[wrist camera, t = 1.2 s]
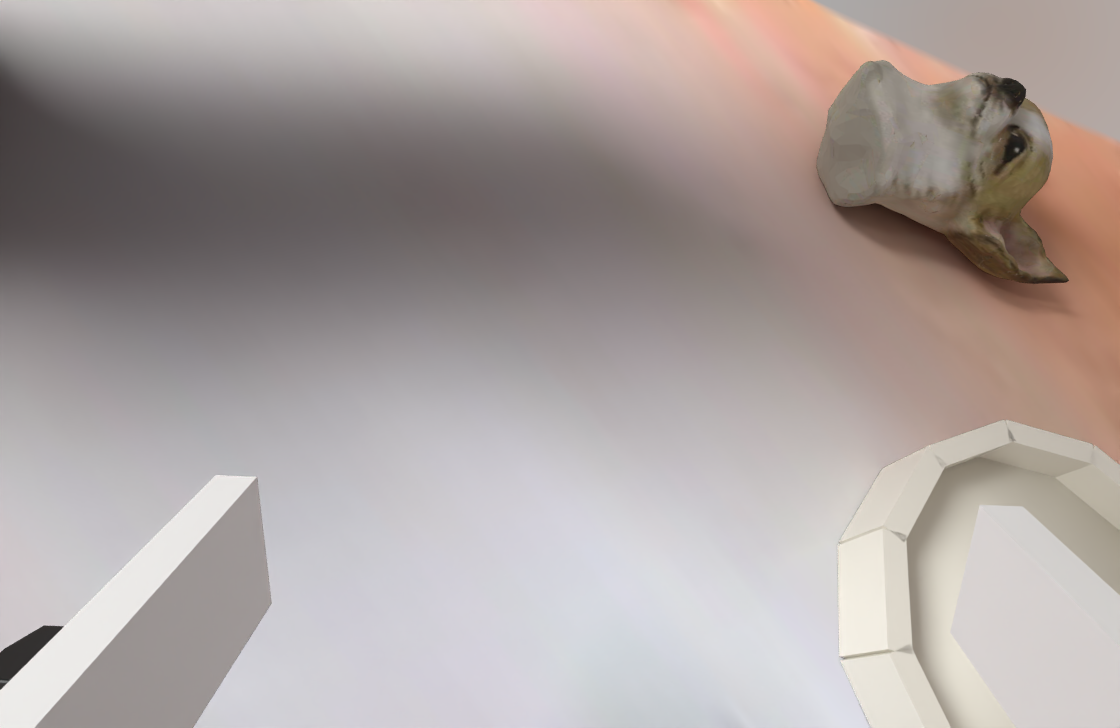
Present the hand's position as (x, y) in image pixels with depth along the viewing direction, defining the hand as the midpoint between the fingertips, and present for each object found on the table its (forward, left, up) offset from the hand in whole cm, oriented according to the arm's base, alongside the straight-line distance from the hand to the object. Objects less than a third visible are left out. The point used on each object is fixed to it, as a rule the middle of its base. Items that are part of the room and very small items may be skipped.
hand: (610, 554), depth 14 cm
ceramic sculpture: (-14, +29, -15) cm, 36 cm away
